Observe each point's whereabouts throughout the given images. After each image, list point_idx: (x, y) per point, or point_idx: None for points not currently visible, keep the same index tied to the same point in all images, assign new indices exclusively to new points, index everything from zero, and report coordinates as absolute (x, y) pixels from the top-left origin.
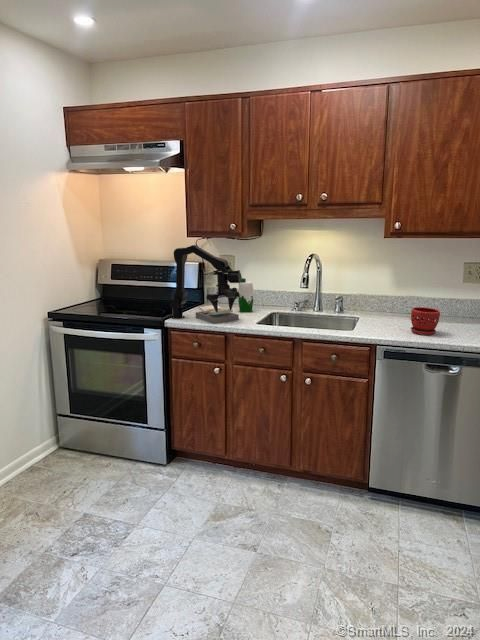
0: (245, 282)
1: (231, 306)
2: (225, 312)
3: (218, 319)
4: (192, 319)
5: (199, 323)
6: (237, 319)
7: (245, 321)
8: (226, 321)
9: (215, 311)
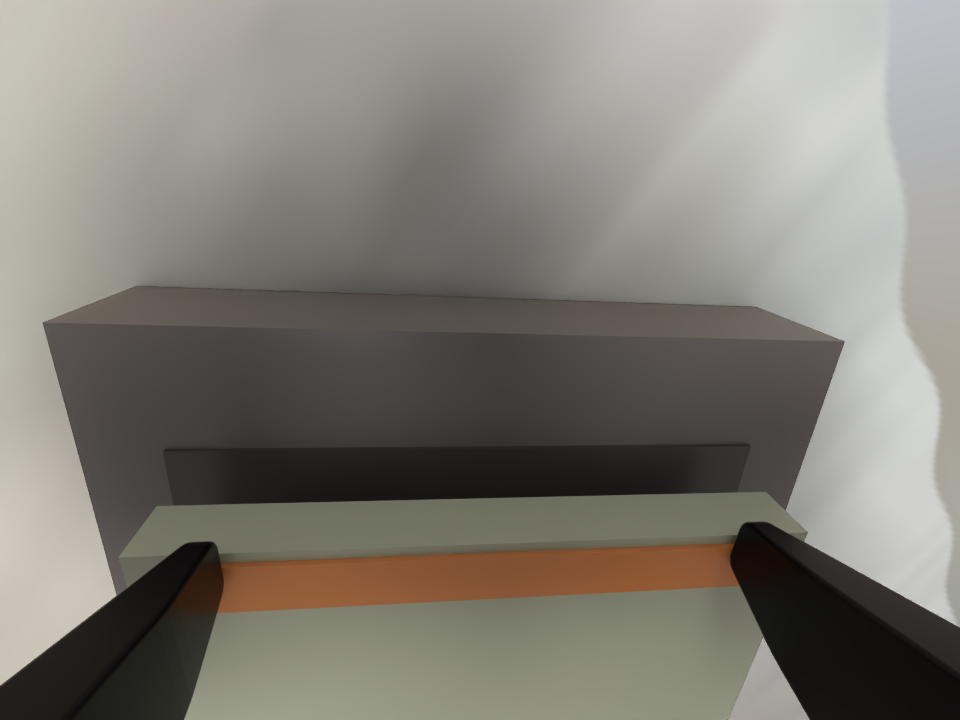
0: None
1: (116, 643)
2: (430, 511)
3: (721, 327)
4: None
5: (871, 481)
6: (167, 291)
7: (46, 8)
8: (488, 299)
9: (676, 628)
